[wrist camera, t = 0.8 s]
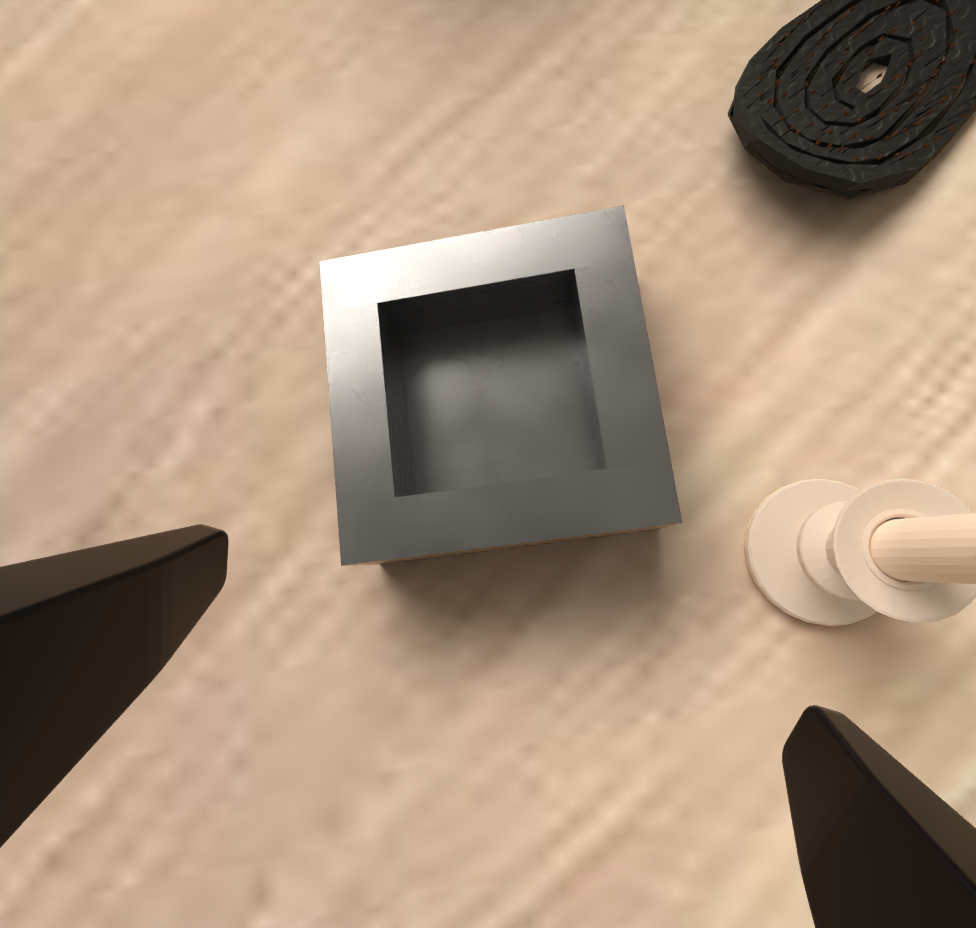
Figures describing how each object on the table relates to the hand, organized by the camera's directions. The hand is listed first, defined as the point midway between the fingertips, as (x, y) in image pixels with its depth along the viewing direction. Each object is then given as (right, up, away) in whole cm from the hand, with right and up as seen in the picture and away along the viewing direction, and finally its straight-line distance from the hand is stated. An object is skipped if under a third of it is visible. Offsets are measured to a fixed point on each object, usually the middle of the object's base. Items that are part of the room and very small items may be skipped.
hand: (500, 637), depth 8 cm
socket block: (0, +5, +14) cm, 15 cm away
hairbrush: (+19, +22, +15) cm, 33 cm away
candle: (+12, -1, +12) cm, 17 cm away
